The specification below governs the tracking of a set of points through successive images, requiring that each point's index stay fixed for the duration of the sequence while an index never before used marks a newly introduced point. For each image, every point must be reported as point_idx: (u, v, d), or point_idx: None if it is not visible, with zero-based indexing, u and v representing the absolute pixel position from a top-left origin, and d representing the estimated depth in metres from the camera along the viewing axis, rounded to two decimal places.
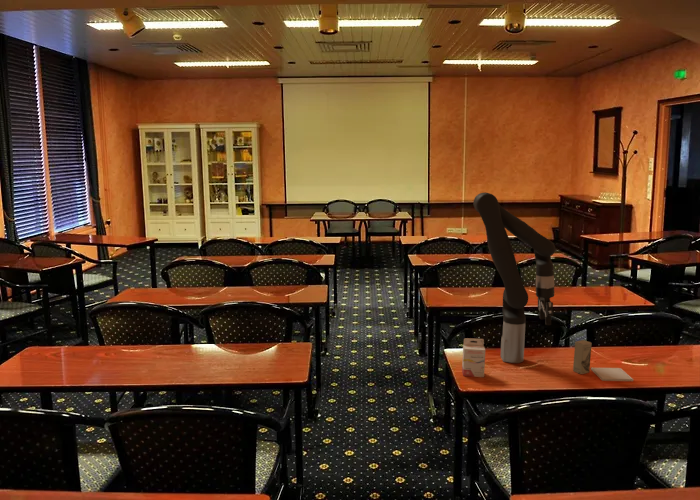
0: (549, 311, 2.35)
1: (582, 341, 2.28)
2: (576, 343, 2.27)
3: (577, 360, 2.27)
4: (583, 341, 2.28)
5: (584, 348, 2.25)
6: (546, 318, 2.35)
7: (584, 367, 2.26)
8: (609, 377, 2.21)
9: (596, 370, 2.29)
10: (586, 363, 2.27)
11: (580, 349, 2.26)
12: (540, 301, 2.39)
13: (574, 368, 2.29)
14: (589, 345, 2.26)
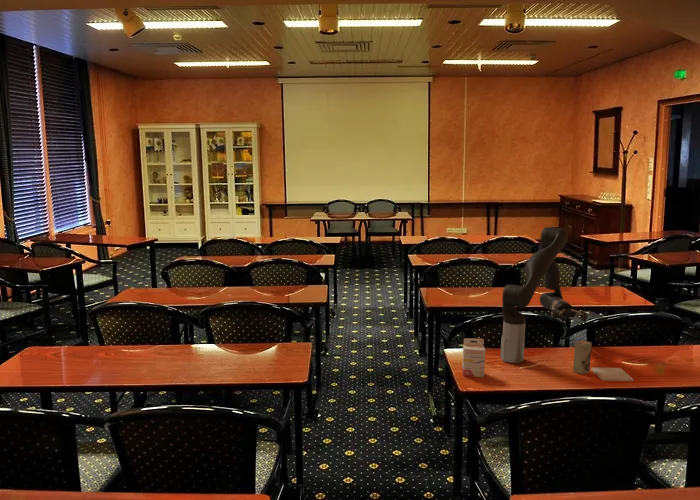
0: (578, 317, 2.44)
1: (582, 341, 2.28)
2: (576, 343, 2.27)
3: (577, 360, 2.27)
4: (583, 341, 2.28)
5: (584, 348, 2.25)
6: (583, 315, 2.41)
7: (584, 367, 2.26)
8: (609, 377, 2.21)
9: (596, 370, 2.29)
10: (586, 363, 2.27)
11: (580, 349, 2.26)
12: (565, 309, 2.47)
13: (574, 368, 2.29)
14: (589, 345, 2.26)
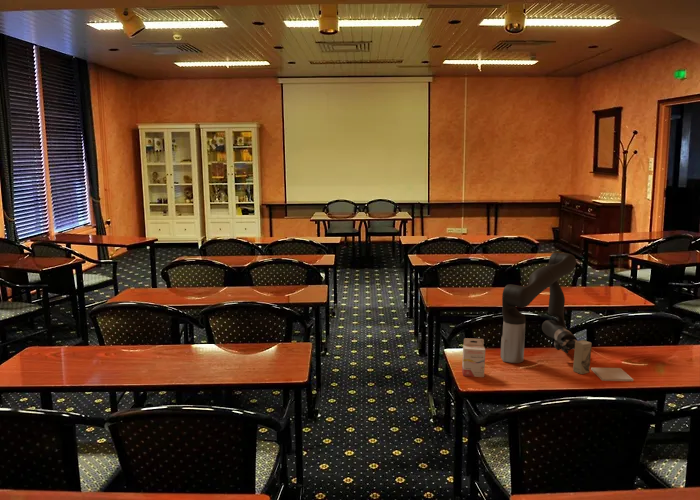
0: None
1: (582, 341, 2.28)
2: (576, 343, 2.27)
3: (577, 360, 2.27)
4: (583, 341, 2.28)
5: (584, 348, 2.25)
6: None
7: (584, 367, 2.26)
8: (609, 377, 2.21)
9: (596, 370, 2.29)
10: (586, 363, 2.27)
11: (580, 349, 2.26)
12: (569, 340, 2.42)
13: (574, 368, 2.29)
14: (589, 345, 2.26)
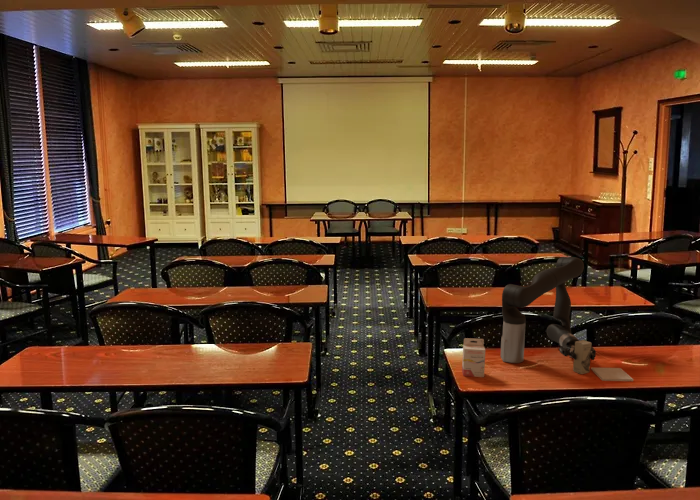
0: None
1: (582, 341, 2.28)
2: (576, 343, 2.27)
3: (577, 360, 2.27)
4: (583, 341, 2.28)
5: (584, 348, 2.25)
6: (591, 353, 2.28)
7: (584, 367, 2.26)
8: (609, 377, 2.21)
9: (596, 370, 2.29)
10: (586, 363, 2.27)
11: (580, 349, 2.26)
12: (574, 345, 2.35)
13: (574, 368, 2.29)
14: (589, 345, 2.26)
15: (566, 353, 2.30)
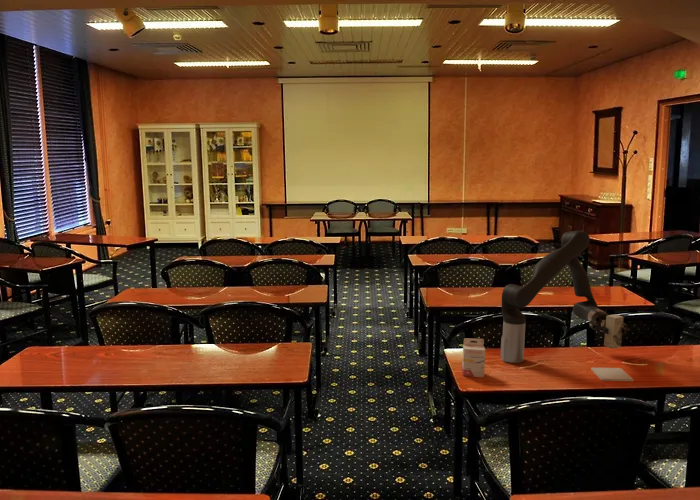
0: None
1: (613, 315, 2.24)
2: (607, 317, 2.23)
3: (608, 334, 2.23)
4: (614, 315, 2.24)
5: (616, 322, 2.21)
6: (623, 327, 2.24)
7: (616, 341, 2.22)
8: (609, 377, 2.21)
9: (596, 370, 2.29)
10: (617, 338, 2.22)
11: (612, 323, 2.22)
12: (605, 320, 2.31)
13: (605, 343, 2.25)
14: (621, 319, 2.22)
15: (597, 328, 2.26)
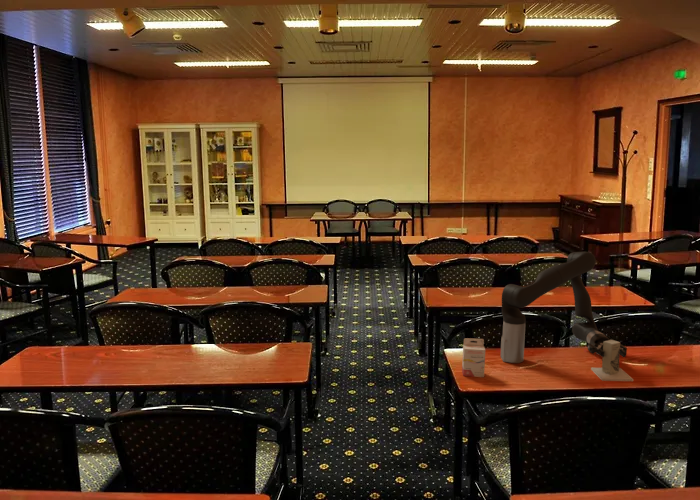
0: None
1: (610, 341, 2.25)
2: (604, 343, 2.25)
3: (606, 360, 2.25)
4: (611, 340, 2.26)
5: (613, 348, 2.22)
6: (622, 350, 2.26)
7: (613, 367, 2.24)
8: (609, 377, 2.21)
9: (596, 370, 2.29)
10: (615, 363, 2.24)
11: (608, 349, 2.23)
12: None
13: (603, 368, 2.26)
14: (618, 345, 2.24)
15: (593, 350, 2.28)
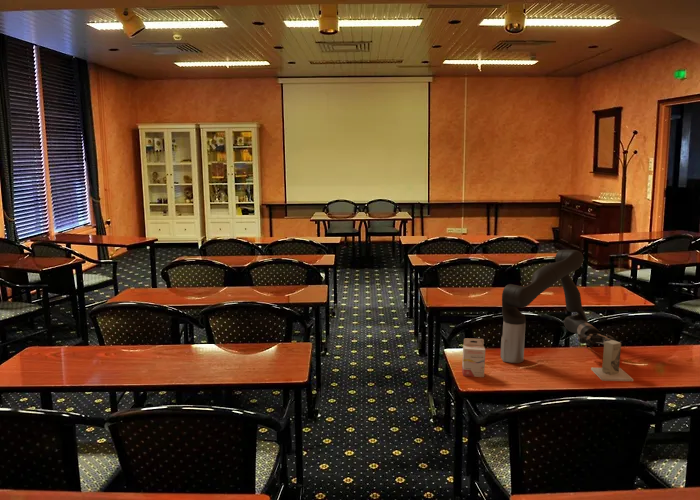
0: None
1: (611, 341, 2.25)
2: (605, 343, 2.25)
3: (606, 360, 2.25)
4: (612, 341, 2.26)
5: (614, 348, 2.22)
6: None
7: (613, 367, 2.24)
8: (609, 377, 2.21)
9: (596, 370, 2.29)
10: (615, 364, 2.24)
11: (609, 349, 2.23)
12: (593, 334, 2.44)
13: (603, 368, 2.26)
14: (619, 345, 2.23)
15: (582, 341, 2.40)
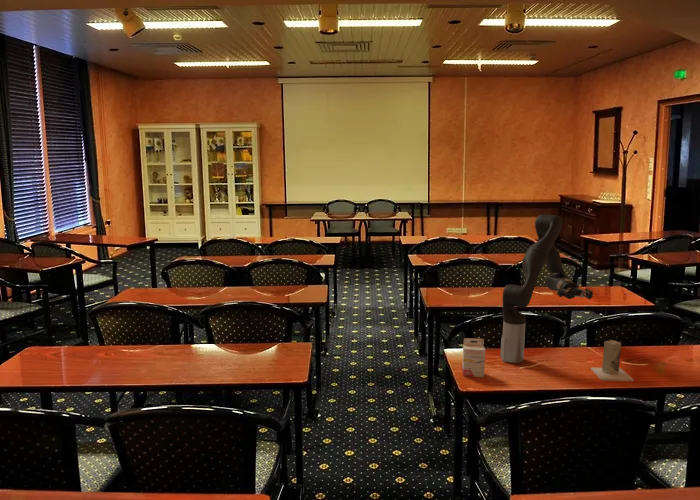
0: (584, 295, 2.45)
1: (611, 341, 2.25)
2: (605, 343, 2.25)
3: (606, 360, 2.25)
4: (612, 341, 2.26)
5: (614, 348, 2.22)
6: (588, 293, 2.42)
7: (613, 367, 2.24)
8: (609, 377, 2.21)
9: (596, 370, 2.29)
10: (615, 364, 2.24)
11: (609, 349, 2.23)
12: (571, 288, 2.48)
13: (603, 368, 2.26)
14: (619, 345, 2.23)
15: (561, 294, 2.44)
